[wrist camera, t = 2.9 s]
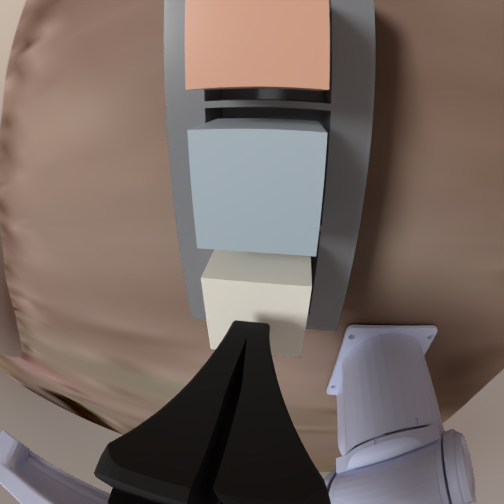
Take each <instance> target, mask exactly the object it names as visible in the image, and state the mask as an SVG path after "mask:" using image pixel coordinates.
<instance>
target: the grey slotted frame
mask: <svg viewBox="0 0 504 504" xmlns="http://www.w3.org/2000/svg"><path fill="white" fill-rule="evenodd" d="M329 19H330V80H329V90H324V91H311V90H295V89H218V90H186V88H185V0H164V79H165V103H166V121H167V135H168V148H169V160H170V171H171V181H172V190H173V199H174V208H175V216H176V224H177V232H178V239H179V246H180V253H181V260H182V266H183V272H184V279H185V285H186V291H187V296H188V302H189V308H190V313H191V318H196V319H204V320H206V313H205V306H204V299H203V291H202V284H201V276H202V274H203V272H204V270H205V268H206V266H207V264H208V261H209V259H210V257H211V255H212V253H213V251H214V249H200V248H197V242H196V232H195V222H194V212H193V201H192V190H191V178H190V164H189V150H188V133H187V130H189V129H192V128H194V127H197V126H199V125H202V124H204V123H207V122H210V121H212V120H215V119H223V118H267V119H293V120H309V121H318V122H319V123H320V124H321V125H322V127H323V128H324V129H325V130H326V132H327V148H326V162H325V175H324V187H323V198H322V208H321V218H320V227H319V236H318V245H317V253H316V256H311V275H312V290H311V297H310V303H309V310H308V316H307V322H306V328H305V329H314V330H334V331H337V328H338V324H339V320H340V316H341V312H342V308H343V304H344V300H345V296H346V292H347V287H348V283H349V278H350V274H351V269H352V264H353V259H354V254H355V249H356V244H357V239H358V233H359V227H360V222H361V215H362V209H363V203H364V196H365V189H366V182H367V174H368V165H369V157H370V147H371V137H372V125H373V111H374V92H375V11H374V0H329Z"/></svg>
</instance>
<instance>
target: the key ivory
mask: <svg viewBox="0 0 504 504" xmlns="http://www.w3.org/2000/svg"><path fill="white" fill-rule="evenodd" d="M201 284H202V291H203V299H204V306H205V313H206V320H207V327H208V334H209V340H210V346H211V349H215V350H216V348H217V347H218V346H219V344H220V343H221V341H222V340H223V338H224V336H225V335H226V333H227V331H228V330H229V328H230V326H231V324H232V322H233V321H235V320H238V321H248V322H259V323H268V324H269V325H270V347H271V354H272V356H281V357H294V358H300V357H301V351H302V346H303V340H304V334H305V328H306V322H307V316H308V310H309V303H310V297H311V290H312V275H311V256H302V255H287V254H273V253H258V252H244V251H229V250H215V249H214V251H213V253H212V255H211V257H210V259H209V261H208V264H207V266H206V268H205V270H204V272H203V274H202V276H201Z"/></svg>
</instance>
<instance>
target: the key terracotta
mask: <svg viewBox="0 0 504 504" xmlns="http://www.w3.org/2000/svg"><path fill="white" fill-rule="evenodd" d="M329 80H330V19H329V0H185V88H186V90H218V89H295V90H311V91H324V90H329Z"/></svg>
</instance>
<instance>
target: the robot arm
mask: <svg viewBox="0 0 504 504" xmlns="http://www.w3.org/2000/svg"><path fill="white" fill-rule="evenodd" d="M437 331H438V330H437V327H436V326H434V325H421V326H394V325H350V326H348V327H347V329H346V332H345V335H344V339H343V342H342V345H341V348H340V351H339V355H338V358H337V361H336V364H335V367H334V370H333V373H332V376H331V378H330V381H329V384H328V387H327V394H329V395H337V421H338V447H339V450H340V453H341V455H342V456H341V457H338V458H336V469H335V470H333V471H331V472H330V473H329V474H328V475H327V476H326V477H325V479H323V478H322V476H321V475H320V473H319V472H318V470H317V469H316V467H315V465H314V464H313V462H312V460H311V459H310V457H309V455H308V453H307V451H306V450H305V448H304V446H303V444H302V442H301V440H300V438H299V436H298V434H297V432H296V429H295V427H294V425H293V423H292V420H291V418H290V416H289V413H288V411H287V408H286V405H285V403H284V400H283V397H282V394H281V391H280V387H279V384H278V381H277V377H276V373H275V369H274V364H273V360H272V354H271V347H270V325H269V324H268V323H259V322H248V321H238V320H235V321H233V322H232V324H231V326H230V328H229V330H228V331H227V333H226V335H225V336H224V338H223V340H222V341H221V343H220V344H219V346H218V347H217V348H216V350H215V351H214V353H213V354H212V355H211V357H210V358H209V359H208V361H207V362H206V363H205V365H204V366H203V367H202V368H201V369H200V371H199V372H198V373H197V374H196V375H195V376H194V378H193V379H192V380H191V381H190V382H189V383H188V384H187V385H186V386H185V387H184V388H183V389H182V390H181V391H180V392H179V393H178V394H177V395H176V396H175V397H174V398H173V399H172V400H171V401H170V402H168V403H167V404H166V405H165V406H164V407H163V408H162V409H160V410H159V411H158V412H157V413H155V414H154V415H153V416H151V417H150V418H148V419H147V420H146V421H144V422H143V423H141V424H140V425H139V426H137V427H136V428H134V429H133V430H131V431H129V432H128V433H126V434H124V435H123V436H121V437H119V438H117V439H116V440H114V441H112V442H110V443H109V444H108V445H107V447H106V448H105V450H104V452H103V453H102V455H101V457H100V460H99V462H98V464H97V467H96V469H95V472H94V474H95V476H96V477H97V478H98V479H100V480H102V481H103V482H105V483H106V484H108V485H110V486H111V487H113V489H112V491H111V494H109V493H107V492H105V491H103V490H100V489H98V488H96V487H94V486H92V485H90V484H88V483H86V482H84V481H81V480H80V479H78V478H75V477H74V476H72V475H70V474H68V473H66V472H64V471H63V470H61V469H59V468H57V467H56V466H54V465H53V464H51V463H49V462H48V461H46V460H44V459H43V458H41V457H40V456H38V455H36V454H35V453H33V452H32V451H30V449H29V448H27V447H26V446H24V445H23V444H22V443H21V442H20V441H18V440H17V439H15V438H14V437H12V436H11V435H10V434H9V433H7V432H6V431H4V430H3V431H2V433H1V434H0V484H1V485H2V486H3V487H4V488H5V489H7V490H8V491H9V492H10V493H11V494H12V495H13V496H14V497H15V498H16V499H17V500H18V501H19V502H20V503H21V504H476V496H475V480H474V473H473V467H472V462H471V457H470V453H469V450H468V446H467V443H466V440H465V438H464V436H463V434H462V433H459V432H456V431H455V430H454V429H451V430H448V431H445V430H444V429H443V424H442V419H441V415H440V411H439V407H438V403H437V399H436V395H435V391H434V387H433V384H432V380H431V377H430V373H429V370H428V366H427V363H426V360H425V357H424V355H425V353H426V352H427V350H428V348H429V346H430V345H431V343H432V341H433V339H434V337H435V335H436V333H437ZM350 335H352V336H350Z"/></svg>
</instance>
